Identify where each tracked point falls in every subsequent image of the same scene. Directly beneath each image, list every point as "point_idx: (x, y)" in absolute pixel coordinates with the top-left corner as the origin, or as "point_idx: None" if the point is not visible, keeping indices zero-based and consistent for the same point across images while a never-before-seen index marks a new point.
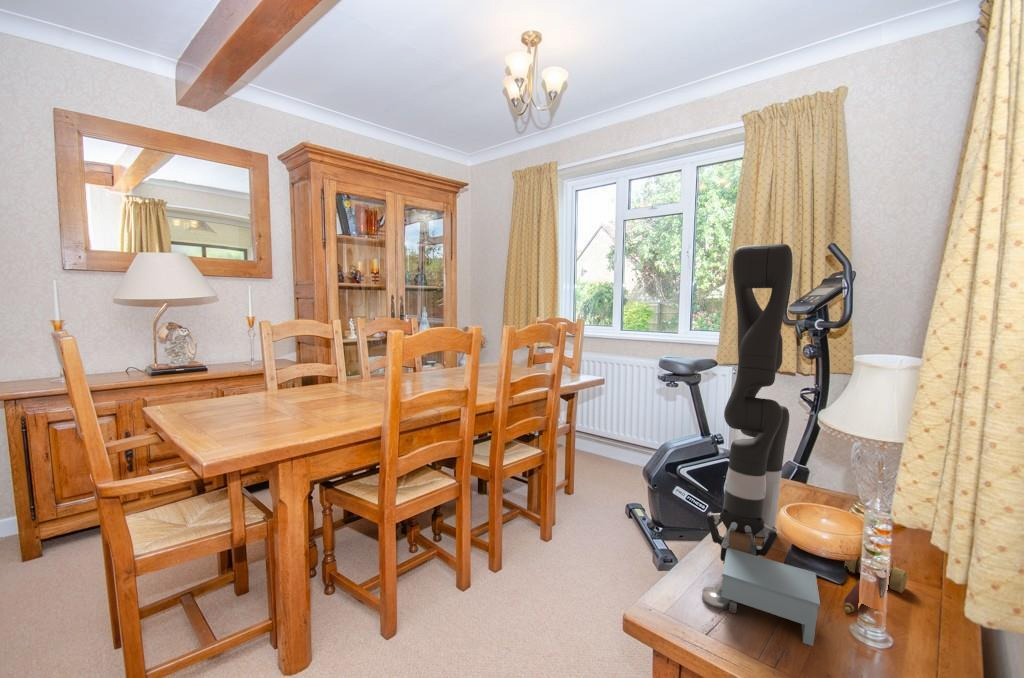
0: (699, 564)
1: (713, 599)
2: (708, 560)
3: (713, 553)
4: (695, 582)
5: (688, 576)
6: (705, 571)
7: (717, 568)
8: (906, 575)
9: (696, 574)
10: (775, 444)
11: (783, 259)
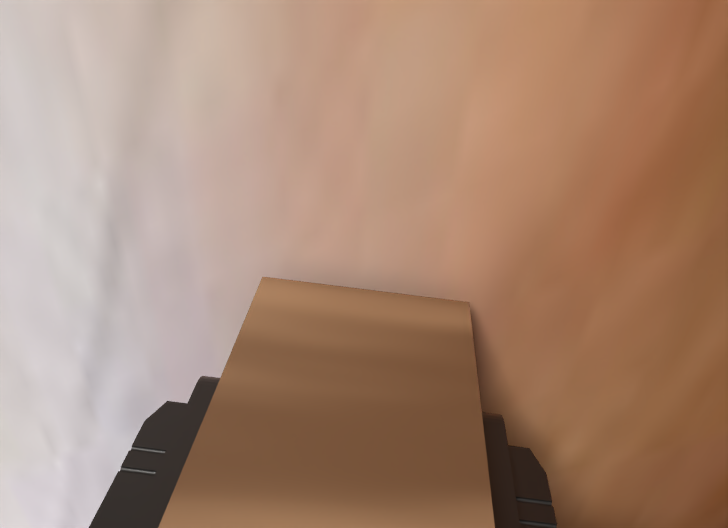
0: (24, 310)
1: None
2: (76, 204)
3: (84, 4)
4: (77, 521)
5: (12, 482)
6: (102, 389)
7: (187, 309)
8: None
9: (52, 446)
10: None
11: None
